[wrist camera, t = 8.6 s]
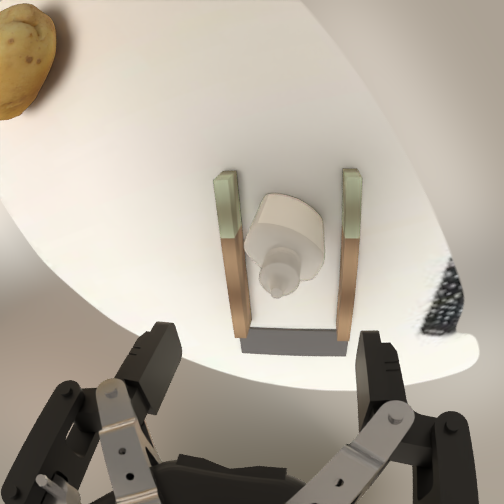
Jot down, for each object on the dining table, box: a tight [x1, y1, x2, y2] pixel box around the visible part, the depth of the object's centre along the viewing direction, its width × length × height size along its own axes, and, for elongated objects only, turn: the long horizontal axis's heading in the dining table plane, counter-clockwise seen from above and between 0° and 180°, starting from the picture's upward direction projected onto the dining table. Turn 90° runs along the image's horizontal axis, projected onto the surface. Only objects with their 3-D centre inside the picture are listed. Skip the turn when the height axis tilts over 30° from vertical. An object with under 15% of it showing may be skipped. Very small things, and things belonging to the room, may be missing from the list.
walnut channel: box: [213, 168, 362, 341], centre depth 29 cm, size 16×11×3 cm
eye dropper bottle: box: [244, 193, 325, 298], centre depth 23 cm, size 4×6×12 cm
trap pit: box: [240, 327, 348, 356], centre depth 35 cm, size 4×12×1 cm, turn 95°
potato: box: [0, 3, 56, 120], centre depth 20 cm, size 10×12×10 cm
